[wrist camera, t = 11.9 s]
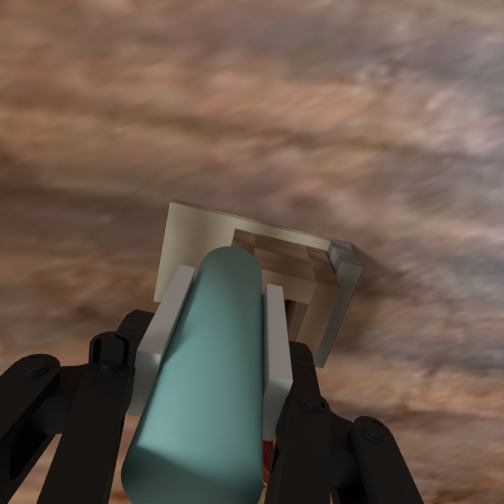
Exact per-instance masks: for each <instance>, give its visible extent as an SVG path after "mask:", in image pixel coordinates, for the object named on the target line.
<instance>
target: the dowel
mask: <svg viewBox="0 0 504 504" xmlns="http://www.w3.org/2000/svg"><path fill="white" fill-rule="evenodd" d="M121 481H122V485H123V488H124V491H125V493H126V495H127V496H128V498H129V499H130V500H131V502H132V503H133V504H257V503H258V502H259V500H260V497H261V495H262V491H263V326H262V270H261V267H260V264H259V263H258V261H257V260H256V258H255V257H254V256H253V255H252V254H250V253H249V252H248V251H246V250H244V249H241V248H238V247H233V246H225V247H219V248H217V249H214V250H212V251H211V252H209V253H208V254H207V255H206V256H205V257H204V258H203V259H202V261H201V263H200V265H199V267H198V270H197V273H196V275H195V278H194V280H193V284H192V286H191V289H190V292H189V294H188V297H187V299H186V302H185V305H184V307H183V310H182V313H181V315H180V318H179V320H178V323H177V326H176V328H175V331H174V333H173V336H172V339H171V341H170V344H169V347H168V349H167V352H166V354H165V357H164V360H163V362H162V365H161V367H160V370H159V373H158V375H157V377H156V379H155V382H154V384H153V387H152V390H151V392H150V395H149V397H148V400H147V403H146V405H145V408H144V410H143V413H142V415H141V418H140V421H139V423H138V426H137V428H136V431H135V434H134V436H133V439H132V441H131V444H130V447H129V449H128V452H127V454H126V457H125V460H124V462H123V465H122V469H121Z"/></svg>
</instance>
